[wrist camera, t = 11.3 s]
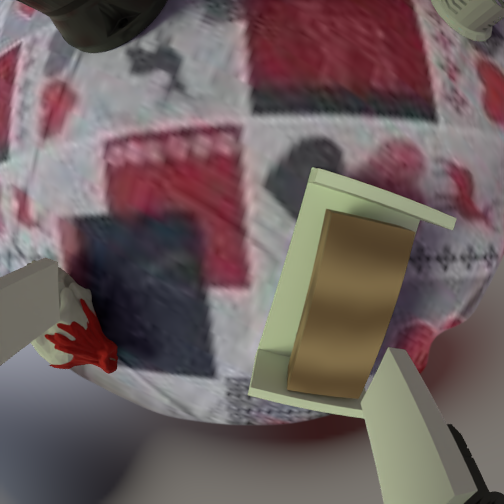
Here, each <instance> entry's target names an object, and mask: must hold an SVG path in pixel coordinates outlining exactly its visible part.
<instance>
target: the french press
mask: <svg viewBox="0 0 504 504" xmlns="http://www.w3.org/2000/svg"><path fill="white" fill-rule="evenodd" d="M498 1H499V2H500V4H501V5H502V7H500V6H499V5H498V4H497V3H496V1H495V0H431V2H432V4H433V6H434V7H435V9H436V10H437V12H438V14H439V15H440V16H441V17H442V18H443V19H444V21H445V22H446V23H447V24H448V25H449V26H450V27H451V28H453V29H454V30H456V31H457V32H458V33H460V34H461V35H463V36H464V37H467V38H469V39H472V40H474V41H486V40H487V39H488V38H489V37H491V33H492V25H495V24H496V23H497V21H498V22H499V21H500V20H502V19H503V18H504V2H503V1H502V0H498ZM499 17H501V18H500V19H499ZM494 21H496V22H495V23H494Z"/></svg>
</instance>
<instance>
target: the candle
mask: <svg viewBox="0 0 504 504" xmlns="http://www.w3.org/2000/svg"><path fill="white" fill-rule="evenodd" d="M34 262H36V261H35V260H33V261H32V263H34ZM32 263H28V264H27V265H29V264H32ZM58 292H59V310H60V321H59V322H58V323H56V324H55V325H53V326H52V327H51V328H49V329H48V330H47V331H45V332H44V333H43V334H41V335H40V336H39V337H37V338H36V339H35V340H33V341H32V342H31V344H32V345H33V346H34V348H35V349H36V350H37V352H38V353H39V354H40V356H41V357H43V358H44V359H46V360H47V361H48V362H49V363H50V364H52V365H50V366H52V367H54V368H60V369H70V368H72V367H73V366H78V365H85V364H93V365H96V366H98V367H100V368H102V369H103V370H104V371H105V372H106V373H112V372H114V371H116V370H117V360H118V357H117V355H116V354H117V345H116V344H115V343H114V342H113V341H111V340H109V339H108V338H107V337H106V336H105V335H104V334H103V332H102V329H101V326H100V323H99V321H98V318H97V315H96V312H95V311H94V308H93V304H92V295H91V291H90V290H89V289H85V288H83V287H81V286H80V285H78V284H77V283H76V282H75V281H74V279H73V278H72V277H71V276H70V275H69V274H67V273H66V272H65V271H63V270H62V269H61V268H59V267H58Z"/></svg>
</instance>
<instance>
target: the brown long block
mask: <svg viewBox="0 0 504 504" xmlns="http://www.w3.org/2000/svg"><path fill="white" fill-rule="evenodd" d="M415 233H416V232H414V231H412V230H409V229H407V228H404V227H402V226H399V225H395V224H391V223H387V222H383V221H379V220H375V219H371V218H366V217H362V216H358V215H353V214H349V213H344V212H340V211H335V210H331V209H326V211H325V216H324V220H323V225H322V230H321V235H320V239H319V244H318V249H317V253H316V257H315V262H314V266H313V271H312V275H311V279H310V283H309V287H308V292H307V296H306V300H305V304H304V308H303V312H302V315H301V319H300V323H299V327H298V331H297V335H296V338H295V342H294V346H293V349H292V353H291V357H290V360H289V364H288V374H287V390H291V391H297V392H304V393H311V394H318V395H326V396H334V397H343V398H353V399H359V397H360V395H361V393H362V391H363V388H364V386H365V384H366V382H367V379H368V377H369V375H370V372H371V370H372V367H373V365H374V362H375V360H376V357H377V355H378V352H379V350H380V347H381V345H382V342H383V339H384V337H385V334H386V331H387V328H388V325H389V323H390V320H391V317H392V314H393V311H394V308H395V305H396V302H397V298H398V295H399V292H400V289H401V285H402V282H403V279H404V275H405V272H406V268H407V264H408V261H409V257H410V253H411V249H412V245H413V241H414V237H415Z"/></svg>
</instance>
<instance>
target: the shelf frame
mask: <svg viewBox="0 0 504 504" xmlns="http://www.w3.org/2000/svg"><path fill="white" fill-rule="evenodd" d="M326 209H331V210H335V211H340V212H344V213H349V214H353V215H358V216H362V217H366V218H371V219H375V220H379V221H383V222H387V223H391V224H395V225H399V226H402V227H404V228H407V229H409V230H412V231H414V232H417V228H418V225H419V222H420V220H422V221H425V222H428V223H432V224H435V225H438V226H441V227H444V228H447V229H450V230H453V229H454V225H455V222H456V218H454V217H452V216H449V215H447V214H445V213H442V212H440V211H438V210H435V209H433V208H430V207H428V206H425V205H423V204H420V203H418V202H415V201H413V200H410V199H407V198H405V197H402V196H400V195H397V194H394V193H391V192H389V191H386V190H383V189H380V188H378V187H375V186H372V185H369V184H366V183H363V182H360V181H357V180H354V179H351V178H348V177H345V176H342V175H339V174H336V173H332V172H329V171H326V170H323V169H319V168H318V169H317V168H313V167H312V169H311V173H310V176H309V180H308V184H307V187H306V191H305V194H304V198H303V202H302V205H301V209H300V212H299V216H298V219H297V223H296V226H295V230H294V233H293V237H292V240H291V243H290V247H289V250H288V254H287V257H286V260H285V264H284V267H283V270H282V274H281V277H280V280H279V283H278V287H277V290H276V293H275V296H274V300H273V303H272V306H271V309H270V313H269V316H268V319H267V322H266V325H265V328H264V331H263V335H262V338H261V341H260V344H259V347H258V350H257V353H256V356H255V363H254V368H253V372H252V377H251V382H250V387H249V392H248V395H250V396H253V397H257V398H261V399H265V400H269V401H273V402H278V403H282V404H286V405H291V406H296V407H300V408H305V409H310V410H316V411H321V412H326V413H332V414H339V415H345V416H351V417H358V418H364V414H363V410H362V407H361V401H362V399H363V397H364V395H365V394H366V391H365V388H363V391H362V393H361V395H360V397H359V399H353V398H343V397H334V396H326V395H318V394H311V393H304V392H297V391H291V390H287V374H288V364H289V360H290V357H291V353H292V349H293V346H294V342H295V338H296V335H297V331H298V327H299V323H300V319H301V315H302V312H303V308H304V304H305V300H306V296H307V292H308V287H309V283H310V279H311V275H312V271H313V266H314V262H315V257H316V253H317V249H318V244H319V239H320V235H321V230H322V225H323V220H324V216H325V211H326ZM415 235H416V233H415ZM414 238H415V237H414Z"/></svg>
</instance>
